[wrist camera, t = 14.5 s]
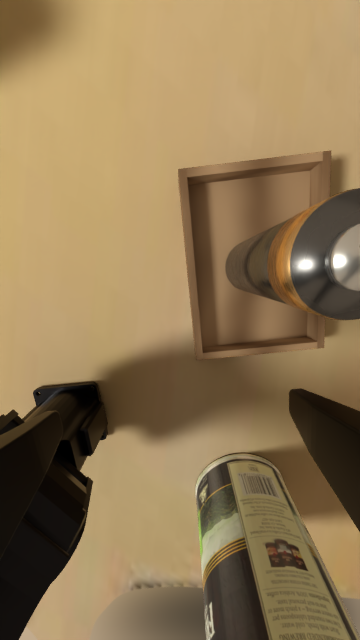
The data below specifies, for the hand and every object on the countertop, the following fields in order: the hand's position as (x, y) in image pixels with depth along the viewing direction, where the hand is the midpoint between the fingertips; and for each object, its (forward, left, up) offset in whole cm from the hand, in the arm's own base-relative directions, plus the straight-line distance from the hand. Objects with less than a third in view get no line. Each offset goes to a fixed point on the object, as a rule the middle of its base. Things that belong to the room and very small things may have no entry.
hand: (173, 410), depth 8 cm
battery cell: (+7, +5, -12) cm, 15 cm away
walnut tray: (+7, +5, -13) cm, 16 cm away
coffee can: (+5, -20, -13) cm, 24 cm away
